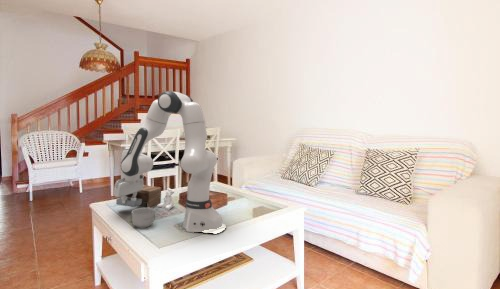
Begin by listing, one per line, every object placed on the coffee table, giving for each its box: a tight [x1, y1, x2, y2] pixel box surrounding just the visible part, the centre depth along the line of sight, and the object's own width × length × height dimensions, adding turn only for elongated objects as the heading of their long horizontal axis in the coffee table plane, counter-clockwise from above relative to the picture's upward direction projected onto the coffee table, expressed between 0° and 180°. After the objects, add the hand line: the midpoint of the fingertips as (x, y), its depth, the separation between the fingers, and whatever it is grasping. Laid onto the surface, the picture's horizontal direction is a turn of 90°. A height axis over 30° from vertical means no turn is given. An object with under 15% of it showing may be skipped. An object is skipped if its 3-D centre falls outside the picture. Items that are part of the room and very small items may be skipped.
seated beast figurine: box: [156, 187, 175, 212], centre depth 175 cm, size 10×9×12 cm
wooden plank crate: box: [126, 184, 162, 208], centre depth 178 cm, size 18×12×10 cm, turn 74°
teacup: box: [131, 206, 156, 229], centre depth 144 cm, size 14×11×8 cm
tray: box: [115, 197, 143, 208], centre depth 161 cm, size 12×6×4 cm, turn 74°
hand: (129, 201), depth 161 cm, fingers closed on tray, 6 cm apart
